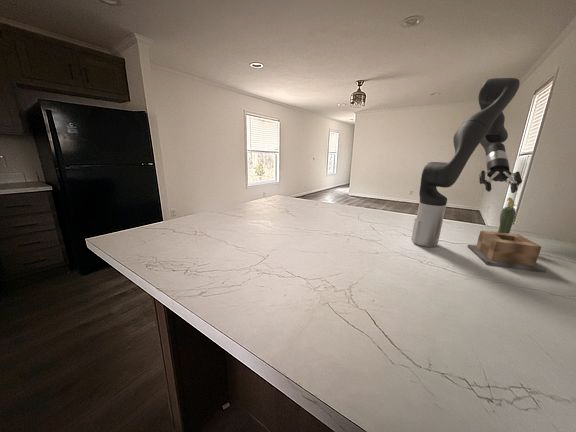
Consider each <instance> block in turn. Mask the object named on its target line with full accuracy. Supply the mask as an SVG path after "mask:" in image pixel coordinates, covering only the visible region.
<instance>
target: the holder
mask: <svg viewBox="0 0 576 432" xmlns="http://www.w3.org/2000/svg"><path fill="white" fill-rule="evenodd" d="M467 248H468V249H469V250H470V251H471V252H472V253H473V254H474V255H476V256H477V257H478V258H479V259H480V260H481V261H482V262H483V263H484V264H485V265H488V266H495V267H502V268H507V269H516V270H524V271H531V272H537V273H545V274H546V273H547V269H546V268H544V267H543V266H541V265H540V264H538V263H537V261H538V258H539V256H540V252H541V250H542V246H541V245H539V244H537V243H535V242H534V241H532V240H530V239H529V238H527V237H524V236H522V235H521V234H518V233H517V234H516V233H499V232H498V231H489V230H480V231H479V235H478V240H477V242H476V244H475V245H474V244H467Z"/></svg>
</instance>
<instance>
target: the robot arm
mask: <svg viewBox="0 0 576 432" xmlns="http://www.w3.org/2000/svg"><path fill="white" fill-rule="evenodd" d="M520 84H521V82H520V80H519V79H518V78H516V77H495V78H494V77H493V78H489V79H487V80H485V81H484V82H483V84H482V85H481V88H480V89H479V92H478V96H477V97H478V104H479V108H480V111H478V112H476V113H473V114H472V115H470V116H469V117H467V118H466V119H464V121H462V123H461V125H460V126H459V127H458V128H457V129H456V131H455V133H454V135H453V147H454V155H453V156H452V157H451V159H450V160H449V161H448V162H444V161H443V162H442V161H441V162H440V161H439V162H438V161H430V162H428V163H426V165H425V166H424V168H423V169H422V173H421V178H420V186H419V193H418V194H419V204H418V208H417V214H416V218H414V223H413V227H412V234H411V241H412V242H413V244H414V245H418V246H422V247H427V248H436V247H438V245H439V241H440V237H441V235H440V234H441V230H442V226H443V222H444V219H445V218H444V216H445V213H446V209H447V205H448V198H447V197H446V196H445V195H443V194H442V193H441V192H439V191H438V189H437V188H438V187H439V188H443V189H444V188H450V187H452V186H453V185H454V184H455V183H456V182H457V180H458V179H459V177H460V175H461V173H462V172H463V170H464V168H465V167H466V165H467V164H468V161H469V159H470V158H471V156H472V155H473V153H474V152H475V151H476V148H477V147H478V146H479V145H481V147H482V148H483V149H484V152H485V156H486V157H485V158H486V160H485V164H486V170H487V171H485V170H481V172H480V173H479V177H478V179H479V180H478V182H479V184H480V185H482V184H483V185H484V186H485V191H486V192H487V193H488V192H489V193H490V192H491V190H492V182H493V181H494V182H504V183H505V184H506V185H507V184H508V185H509V187H510V192H511V194H515V193H516V192H517V191H518V186H520V185H521V183H523V179H522V177H521V176H522V175H521V172H520V171H516V172H511V171H510V169H511V168H510V162H509V157H508V155H507V152H506V146H505V144H504V142H506V141H507V139H508V137H509V134H508V130H507V129H506V128H505V119H506V118H505V114H504V112H503V111H504V109H506V108H507V106H508V105H509V104H510V102H511V101H512V100H513V98H514V97H515V96H516V94H517V92H518V90H519V89H520ZM486 176H487V177H488V179H486Z"/></svg>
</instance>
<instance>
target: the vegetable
mask: <svg viewBox="0 0 576 432" xmlns="http://www.w3.org/2000/svg"><path fill="white" fill-rule="evenodd" d="M506 201H507V205H506V207H504V208H503V209H502V210H501V212H500V215H499V226H498V230H497V232H499V233H509V234H511V229H512V226H513V223H514V221H515V219H516V218H515V217H516V210H515V209H514V207H515V201H514V199H513V198H512V197H508V198H507V200H506Z"/></svg>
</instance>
